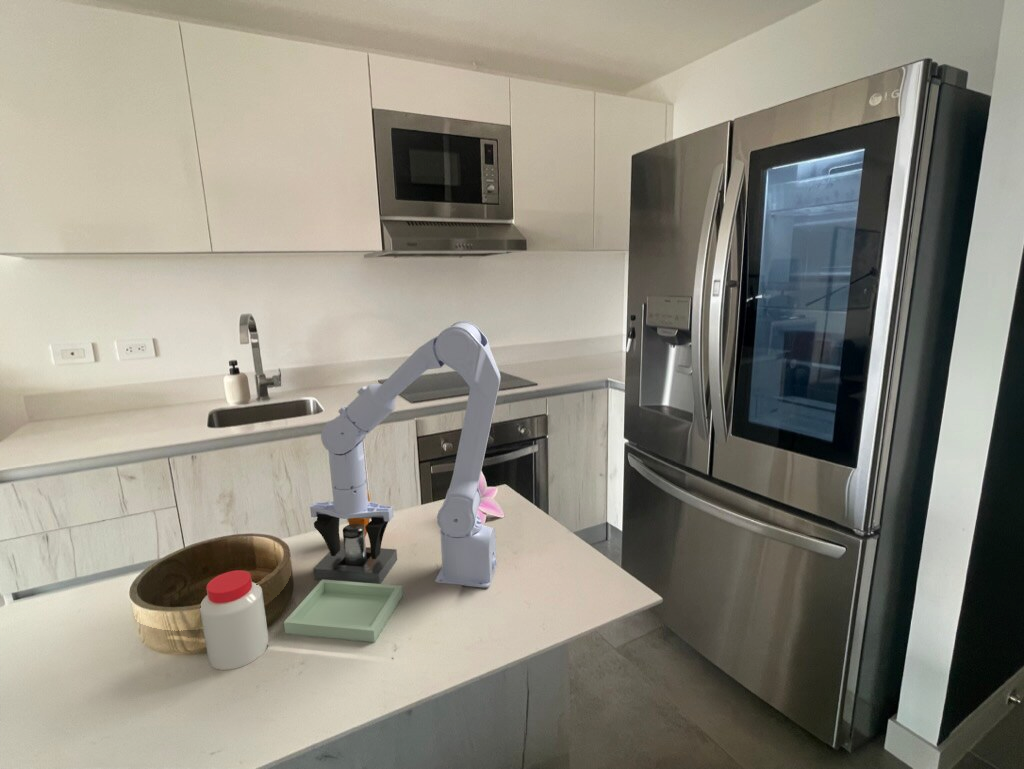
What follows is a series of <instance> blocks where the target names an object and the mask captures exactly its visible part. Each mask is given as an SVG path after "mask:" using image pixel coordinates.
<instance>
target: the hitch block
mask: <svg viewBox="0 0 1024 769" xmlns="http://www.w3.org/2000/svg"><path fill="white" fill-rule="evenodd" d="M397 551H398V550H397V549H396V548H382V547H381V549H380V554H379V556H378V557H377V558H376V559H372V557H371V549H370V547H367V546H366V556H367V562H366V563H365V564H364V566H363V567H359V566H346V560H345V549H344V545H340V551H339V552H338V553H337V554H336V555H335V556H331V553H330V551H328V553H326V555H324V557H323V558H321V560H320V561H319V562H318V563H317V564H316V565H315V566H314V567H313V568H312V570H313V580H314V581H321V580H322V579H324V580H336V581H349V582H361V583H373V584H383V581H385V578H386V577H387V576H388V574H389V573H390V571H391V570H392V568H393V567H394V566H395V564H396V562H397V561H398V552H397Z"/></svg>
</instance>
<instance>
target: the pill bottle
mask: <svg viewBox="0 0 1024 769" xmlns="http://www.w3.org/2000/svg"><path fill="white" fill-rule="evenodd" d="M256 584H257V583H255V582H254V581H252V575H251V572H249V571H247V570H241V569H238V570H237V569H236V570H231V571H225V573H224V572H223V573H221V574H219V575H216V576H215V577H213V578H212V579H211V580H209V582H208V583H207V584H206V593H207V595H205V596H204V598H203V599H202V601H201V603H200V605H201V608H200V607H199V612H200V617H201V618H200V619H201V624H202V630H203V636H204V642H205V648H206V655H207V662H208V664H209V665H210V666H211V668H214V669H216V670H220V671H221V670H223V671H224V670H225V671H227V670H229V671H230V670H235V669H239V668H242V667H244V666H247V665H248V664H251V663H253V662H255V661H256V660H257V659H258V658H259V657H260V658H261V656H262V655H263V654H264V652H266V651H267V648H268V647H269V645H268V643H269V641H270V640H269V632H268V625H267V616H266V610H265V602H264V595H263V589H262V587H261V585H259V584H258V585H256ZM200 605H199V606H200Z"/></svg>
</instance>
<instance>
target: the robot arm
mask: <svg viewBox="0 0 1024 769" xmlns="http://www.w3.org/2000/svg"><path fill="white" fill-rule="evenodd" d="M445 365H446V366H447V367H448V368H450V369H452V370H453V371H455V372H457V373H458V374H459V376H460V377H462V378H463V380H464V381H465V383H466V384H467V385H468V387H469V393H468V397H467V403H466V406H465V407H466V408H465V413H464V418H463V424H462V427H461V428H462V429H461V433H460V438H459V442H458V448H457V452H456V458H455V461H454V462H455V463H454V468H453V472H452V477H451V480H450V484H449V488H447V491H446V494H445V499H444V501H443V503H442V506H441V507H440V509H439V510H438V513H437V516H436V517H437V518H436V521H437V525H438V527H439V529H440V530H439V532H440V550H441V568H440V570H439V572H438V574H437V576H436V577H435V581H434V582H435V583H439V584H449V585H450V584H451V585H460V586H461V585H462V587H474V588H487V589H488V588H490V586H491V584H492V580H493V578H494V574H495V572H496V568H497V567H498V566H497V565H498V561H497V535H496V534H497V533H496V528H495V527H490V526H488V525H485V524H482V521H481V520H480V518H479V516H478V514H477V511H478V507H479V505H480V503H481V494H480V491H479V482H480V474H481V471H483V470H482V469H483V464H484V460H485V456H486V455H485V454H486V451H487V445H488V441H489V436H490V431H491V427H492V422H493V417H494V413H495V408H496V402H497V398H498V394H499V389H500V384H501V373H500V370H499V368H498V365H497V362H496V360H495V357H494V355H493V352H492V349H491V346H490V343H489V340H488V338H487V336H486V335H485V334H484V333H483V332H482V331H481V329H480V328H479V327H478V326H477V325H476V324H474V323H472V322H470V321H465V320H461V321H458V322H457V321H456V322H455V323H453V324H452V325H450V326H449V327H447V328H445V329H443V330H442V331H441V332H440V333H439V334H438V335H436V336H435V337H433V338H431V339H430V340H428V341H427V342H425V343H424V344H422V345H421V346H419V347H418V348H417V349H416V350H415V351H414V352H413V353H412V354H411V355H410V356H409V357H408V358H407V359H406V360H405V361H404V362H403V363H402V364H401V365H400V366H399V367H398V368H397V369H396V370H395V371H393V372H392V374H391V375H390V376H389V377H388V378H387V379H386V380H385V381H384V382H383V383H371V384H370V383H369V385H368V386H366V385H363V386H361V387H360V389H358V390H357V394H358V395H357V396H356V397H355V398H354V399H353V400H352V401H351V402H350V403H349V404H348V405H347V406H345V405H344V406H342V407H340V409H338V413H339V415H337V416H336V417H335V418H333V419H330V420H329V421H327V422H326V424H325V426H324V427H323V428H322V431H321V434H320V440H321V443H322V445H323V447H324V448H325V449H326V450H327V451H328V460H329V461H328V462H329V472H330V473H329V474H330V482H331V492H332V499H333V501H322V502H318V501H316V502H315V503H313V504H312V505H310V507H309V509H310V518H316V520H315V521H314V523H313V527H314V528H315V530H317V532H318V533H319V534H320V535H321V537H322V538H323V540H324V542H325V544H326V545H327V549H328V550H329V551H328V552H330V553H331V556H335V555H336V554H337V553H338V552H339V551H340V546H341V539H340V538H341V536H340V519H342V520H343V519H345V520H348V519H350V518H368V519H370V520H369V523H368V524H367V525H366V526H365V528H366V531H367V536H368V540H369V545H370V549H371V557H372V559H376V558H377V557H378V556H379V554H380V549H381V548H382V541H383V538H384V535H385V531H386V528H387V526H388V523H389V522H390V521H391V520H392V519H393V518H394V514H395V513H394V506H390V505H384V504H381V503H380V504H379V503H377V502H373V501H370V502H369V501H368V495H367V489H368V486H367V474H366V473H367V472H366V462H365V455H364V443H363V441H364V439H365V438H366V437H367V435H368V434H370V433H371V432H372V431H373V430H375V428H376V427H377V426H378V425H380V424H381V423H382V421H384V420H385V419H386V418H387V417H388V416H389V415H390V414H391V413H393V412H394V411H395V410H396V406H397V405H396V402H397V400H396V399H397V397H398V396H399V395H400V394H401V393H402V392H403V391H404V390H406V389H407V388H408V387H409V386H410V385H411V384H412V383H413V382H415V381H416V380H417V379H418V378H419V377H421V376H422V374H424V373H425V372H426V371H427V370H433V369H441V368H442V367H443V366H445Z"/></svg>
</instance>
